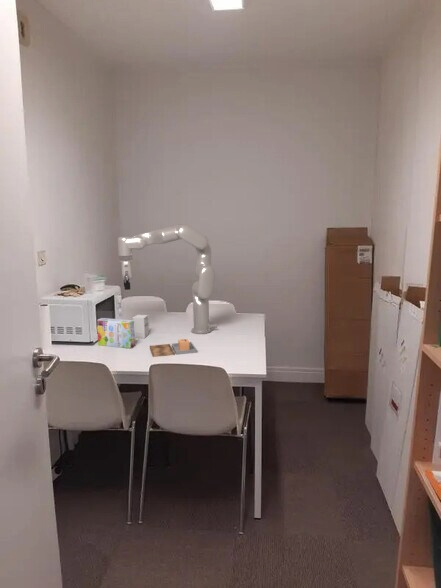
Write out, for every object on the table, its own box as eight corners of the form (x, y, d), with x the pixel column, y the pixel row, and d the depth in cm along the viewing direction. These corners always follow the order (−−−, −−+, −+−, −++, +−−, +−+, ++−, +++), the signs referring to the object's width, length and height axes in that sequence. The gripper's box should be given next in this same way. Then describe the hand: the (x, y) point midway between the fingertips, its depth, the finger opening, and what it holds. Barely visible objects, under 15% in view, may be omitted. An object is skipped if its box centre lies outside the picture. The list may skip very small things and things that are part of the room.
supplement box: (144, 338, 264) (143, 317, 261) (133, 338, 265) (132, 317, 263) (149, 335, 271) (148, 314, 268) (137, 334, 272) (136, 314, 270)
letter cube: (187, 347, 243) (187, 338, 242) (189, 350, 239) (189, 341, 238) (178, 348, 242) (178, 339, 241) (180, 351, 237) (179, 342, 236)
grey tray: (191, 346, 248) (191, 341, 248) (196, 354, 235) (196, 349, 235) (171, 348, 246) (171, 343, 245) (176, 356, 232) (175, 351, 232)
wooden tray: (169, 348, 245) (169, 343, 245) (174, 356, 232) (174, 351, 232) (149, 350, 243) (149, 345, 242) (152, 358, 229) (152, 353, 229)
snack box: (135, 346, 250) (134, 319, 247) (130, 349, 245) (129, 322, 242) (103, 342, 257) (101, 317, 254) (97, 345, 252) (95, 319, 249)
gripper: (133, 260, 247) (134, 290, 251) (131, 256, 264) (132, 285, 267) (119, 260, 245) (121, 291, 249) (118, 257, 262) (120, 285, 265)
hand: (127, 288), depth 258 cm, fingers open, 9 cm apart
